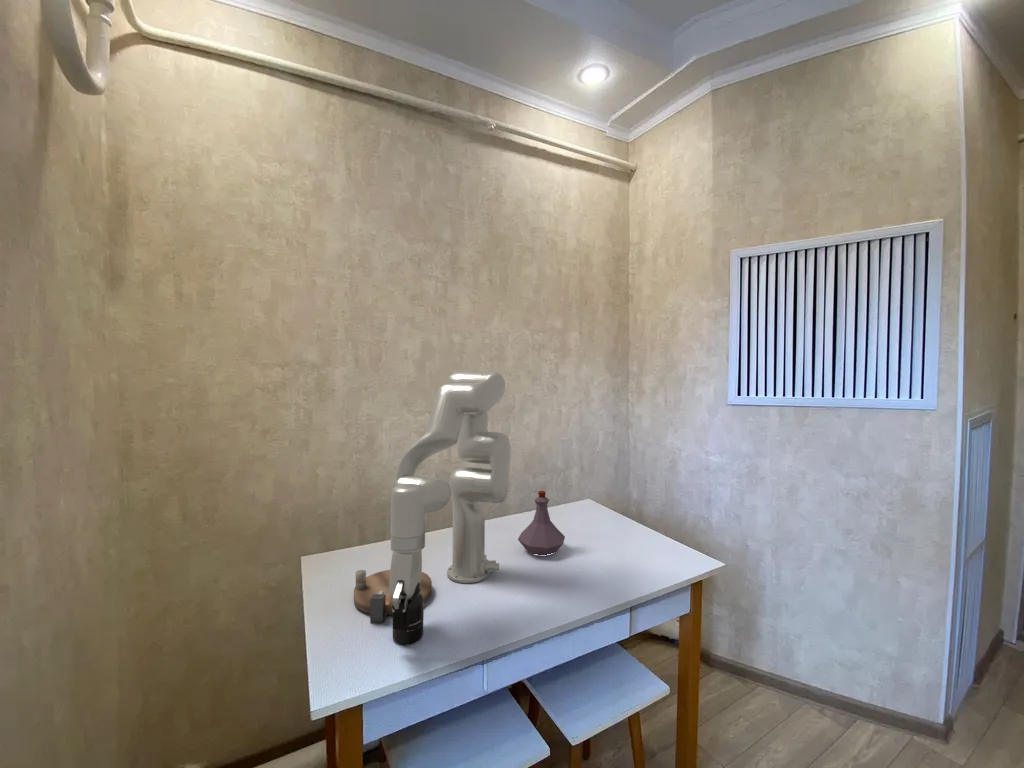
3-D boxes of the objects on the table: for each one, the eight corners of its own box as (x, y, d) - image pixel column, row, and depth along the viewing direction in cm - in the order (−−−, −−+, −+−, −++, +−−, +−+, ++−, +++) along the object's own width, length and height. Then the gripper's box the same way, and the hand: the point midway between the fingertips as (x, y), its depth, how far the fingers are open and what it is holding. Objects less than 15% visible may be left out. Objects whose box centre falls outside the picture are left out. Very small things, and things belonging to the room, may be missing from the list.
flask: (533, 537, 155) (534, 483, 155) (574, 548, 146) (575, 490, 146) (507, 553, 142) (507, 493, 141) (550, 566, 133) (551, 502, 132)
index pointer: (387, 615, 105) (387, 591, 105) (382, 623, 101) (382, 598, 101) (375, 614, 105) (375, 590, 105) (370, 623, 102) (370, 598, 101)
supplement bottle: (415, 648, 93) (416, 593, 92) (386, 644, 94) (386, 590, 94) (428, 629, 99) (428, 578, 99) (401, 626, 101) (401, 575, 100)
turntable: (406, 568, 128) (406, 549, 128) (446, 593, 114) (446, 571, 114) (340, 592, 114) (340, 570, 114) (377, 624, 100) (377, 598, 100)
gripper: (403, 526, 105) (402, 596, 105) (377, 555, 87) (376, 638, 88) (433, 527, 104) (432, 597, 104) (413, 556, 87) (412, 640, 87)
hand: (407, 616), depth 96 cm, fingers open, 9 cm apart
